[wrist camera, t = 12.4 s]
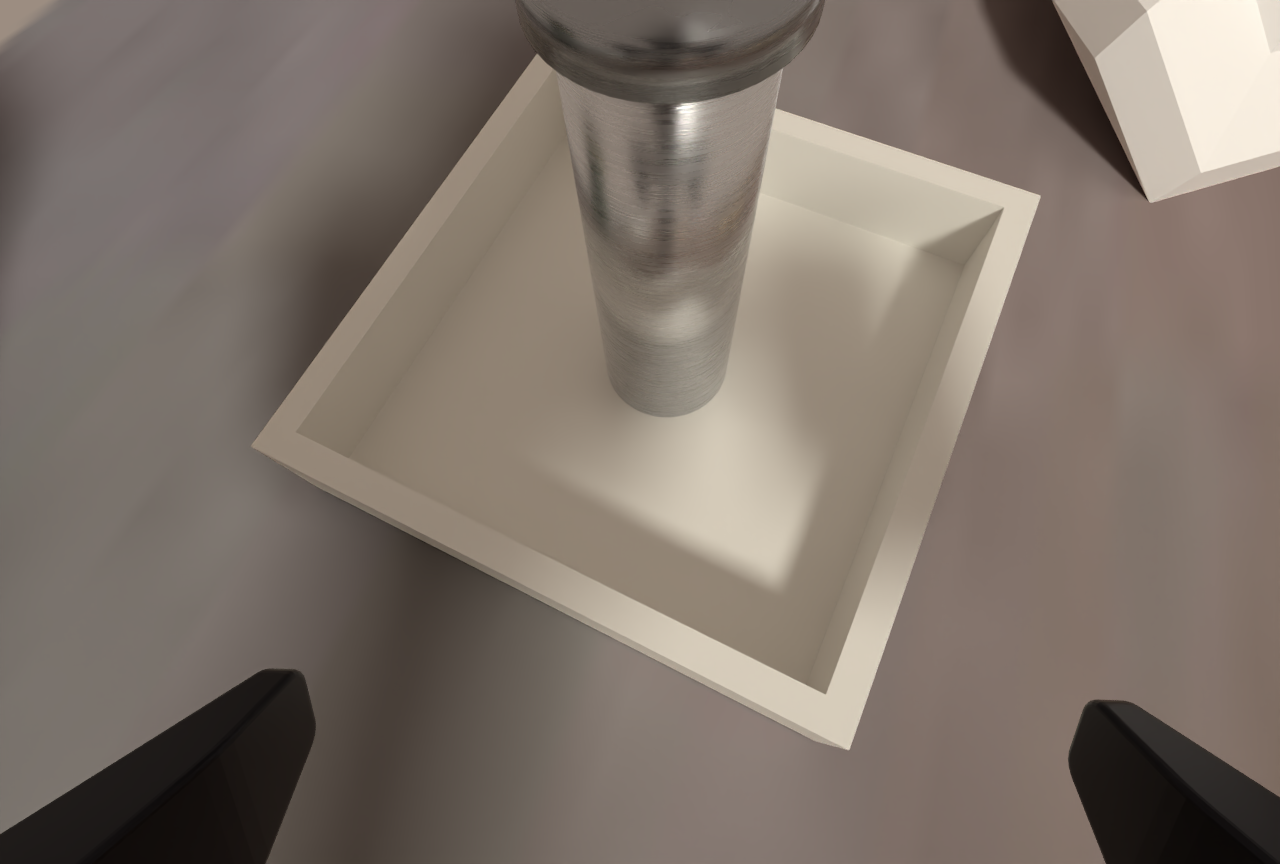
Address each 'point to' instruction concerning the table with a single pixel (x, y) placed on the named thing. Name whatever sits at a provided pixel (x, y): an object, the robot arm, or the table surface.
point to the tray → (685, 445)
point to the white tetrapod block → (1184, 85)
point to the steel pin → (668, 170)
